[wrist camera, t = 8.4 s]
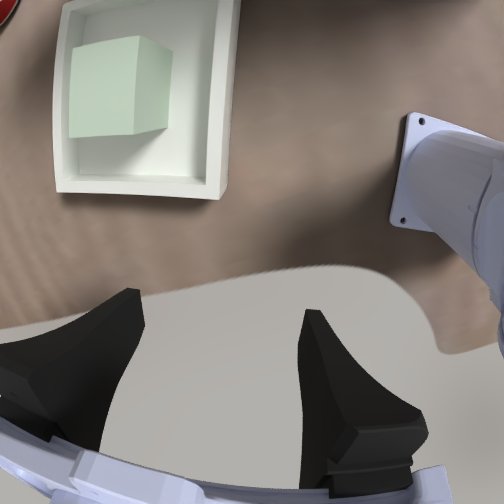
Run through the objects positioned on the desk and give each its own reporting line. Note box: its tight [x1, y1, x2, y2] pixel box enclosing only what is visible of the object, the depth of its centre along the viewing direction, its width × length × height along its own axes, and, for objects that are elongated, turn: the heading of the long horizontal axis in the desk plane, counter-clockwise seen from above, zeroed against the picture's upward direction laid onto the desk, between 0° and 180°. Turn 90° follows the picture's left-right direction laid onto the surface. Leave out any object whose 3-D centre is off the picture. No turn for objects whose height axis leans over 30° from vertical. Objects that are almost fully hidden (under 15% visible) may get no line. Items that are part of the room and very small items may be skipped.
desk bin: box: [53, 0, 241, 200], centre depth 16 cm, size 12×14×3 cm
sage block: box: [69, 35, 173, 138], centre depth 14 cm, size 4×5×5 cm
